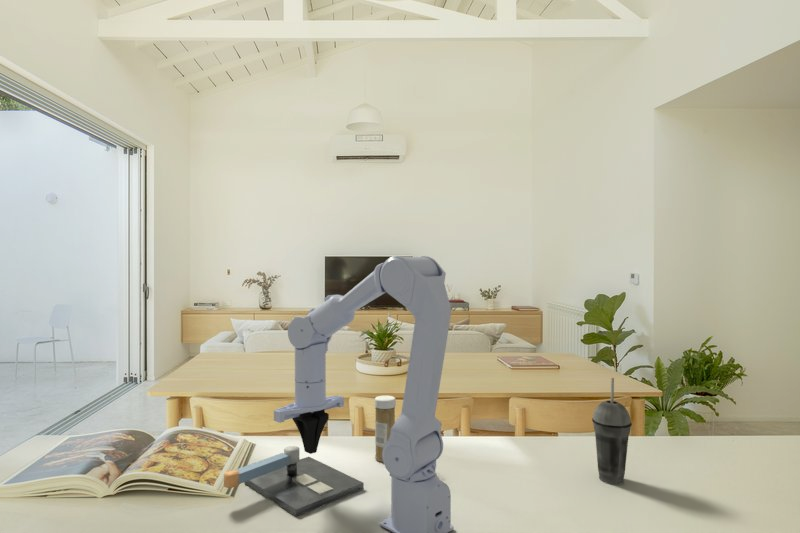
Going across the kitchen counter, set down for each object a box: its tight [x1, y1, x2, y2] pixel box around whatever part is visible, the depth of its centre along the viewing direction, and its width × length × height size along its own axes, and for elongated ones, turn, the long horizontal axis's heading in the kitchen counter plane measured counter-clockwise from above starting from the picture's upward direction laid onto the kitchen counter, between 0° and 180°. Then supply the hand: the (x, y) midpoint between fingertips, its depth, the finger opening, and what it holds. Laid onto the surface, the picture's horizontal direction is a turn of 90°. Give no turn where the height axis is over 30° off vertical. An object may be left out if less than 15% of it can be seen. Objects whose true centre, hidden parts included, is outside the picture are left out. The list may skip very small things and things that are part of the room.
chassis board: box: [244, 456, 364, 517], centre depth 99 cm, size 18×15×3 cm
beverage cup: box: [591, 377, 633, 485], centre depth 102 cm, size 7×7×20 cm
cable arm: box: [223, 445, 300, 489], centre depth 97 cm, size 16×3×2 cm, turn 141°
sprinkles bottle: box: [374, 394, 397, 463], centre depth 113 cm, size 5×5×14 cm
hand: (310, 451), depth 97 cm, fingers closed
